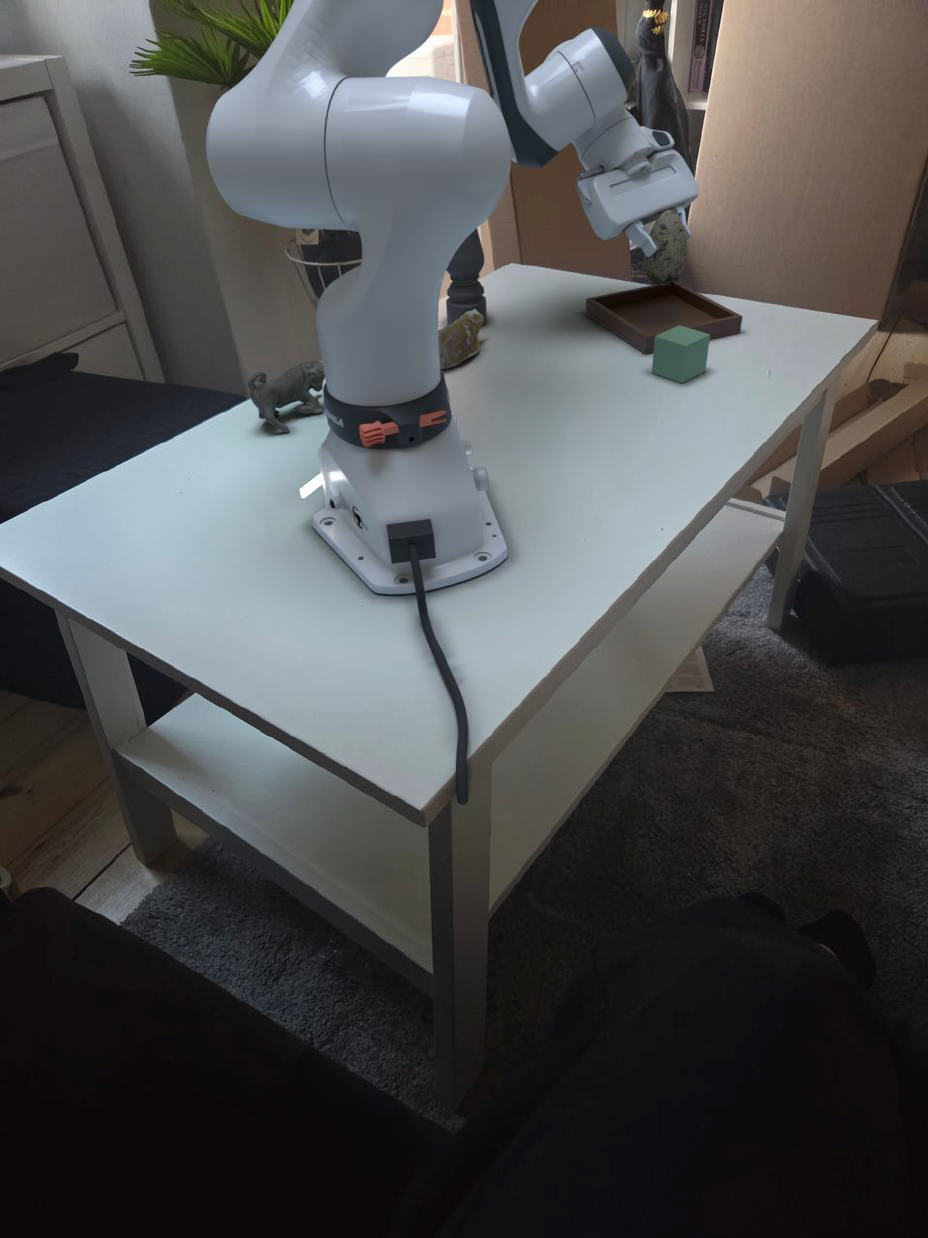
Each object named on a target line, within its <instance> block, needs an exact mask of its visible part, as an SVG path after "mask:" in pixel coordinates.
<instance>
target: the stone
mask: <svg viewBox="0 0 928 1238" xmlns="http://www.w3.org/2000/svg"><path fill="white" fill-rule="evenodd" d="M483 321H484V318H483V316H482V315H481V314H480V313H479V312H477V310H475V309H474V310H472V311H468V312H466V313H465V314H464V315H463V316H461V317H460V318H459V319H457V320H455V321H454V322H453V323H452V324H450V325H448V324H447V325H445V326H443V327H441V328H440V329H438V339H439V359H440V370H446V369H450V368H452V367H456V366H457V365H459V364H460V363H462V362H463V361H465V360H467V359H469V358H471V357H473V356H474V355H477V353H479V351H480V350H481V349H480V340H479V334H480V329H481V327H482V326H481V325H482V323H483Z"/></svg>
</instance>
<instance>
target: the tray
mask: <svg viewBox="0 0 928 1238" xmlns="http://www.w3.org/2000/svg"><path fill="white" fill-rule="evenodd" d="M585 315H586V316H588V317H589V318H591V319H592V320H594V321H595V322H597V323H598V324H600V326H603V327H604V328H606V329H607V330H609V331H610V332H611V333H613V334H614V335H616V336H617V337H618V338H620V339H622V340H623V341H624V342H626V343H628V344H629V345H631V346H632V347H633V348H635V349H637V350H638V351H640V352H641V353H642V354H644V355H648V354H652V353H654V342H655V336H657V335H659V334H661V333H663V332H666V331H668V330H670V329H672V328H674V327H676V326H678V325H680V326H683V327H686V328H690V329H693V330H697V331H700V332H703V333H707V334H710V340H713V339H718V338H723V337H727V336H732V335H736V334H740V333H741V330H742V329H741V328H742V324H743V315H741V314H739V313H737V312H735V311H734V310H731V309H729V308H728V307H726V306H724V305H722V304H721V303H718V302H716V301H715V300H712V299H711V298H708V297H707V296H705V295H703V294H701V293H699V292H698V291H695V289H692V288H689V287H688V286H686V285H684V284H682V283H680V282H678V281H677V280H676V281H675V282H674V283H672V284H670V285H666V286H660V285H657V284H655V283H654V284H651V285H646V286H641V287H635V288H631V289H627V290H621V291H616V292H611V293H606V294H601V295H597V296H592V297H587V298H585Z"/></svg>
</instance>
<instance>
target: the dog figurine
mask: <svg viewBox="0 0 928 1238" xmlns="http://www.w3.org/2000/svg"><path fill="white" fill-rule="evenodd" d="M324 380H325V375H324V369H323V363H322V361H317V360H307V361H305V362H300V363H298V364H297V365H295V366H293V367H291V368H289V369H287V370H286V371H284V373H282V374H281V375H280V376H279V377H278V378H276V379H274V380H267V373H265V372H263V371H258V372H255V373H254V374H252V375H251V376H250V377H249V380H248V382H247V385H248V388H249V397H250V399H251V402H252V403H253V404H254V406H255V407H256V408H257V410H258V419H260V420H265V421H266V422H267V423H268V424H271V425H272V426H273V427H274V428H276V429H277V430H280V431H282V432H283V433H289V432H290V431H291V430H290V428H289V426H287V425H286V424H284V423H282V422H281V421H280V420H278V419H277V418H276V417H277V416H278V415H279V414H280V411H279V410H277V409H282V408H285V407H286V406H288V405H291V404H294V403H296V402H301V404H298V405H296V406H295V407H294V408H293V411H295V412H297V413H299V414H303V415H309V414H315V415H317V414H321V413H322V412H323V409H321V408H320V405H321V402H320V400H319V399H318V398H316V397H315V396H314V395H312V393H311V392H310V390H311V389H312V390H313V391H315V392H316V393H318V392H319V393H320V392H321V391H323V387H324V384H323V383H324Z"/></svg>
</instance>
